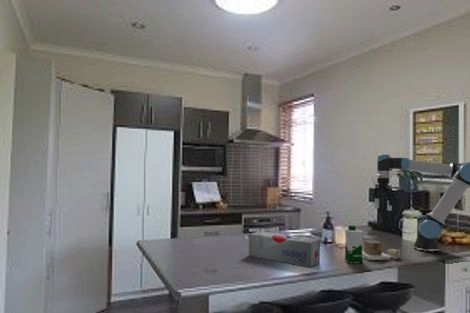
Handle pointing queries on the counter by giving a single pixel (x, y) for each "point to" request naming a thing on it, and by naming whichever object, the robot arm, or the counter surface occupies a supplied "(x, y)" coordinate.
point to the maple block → (393, 253)
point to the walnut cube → (373, 247)
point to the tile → (375, 256)
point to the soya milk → (353, 244)
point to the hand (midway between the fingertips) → (382, 209)
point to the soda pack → (285, 248)
